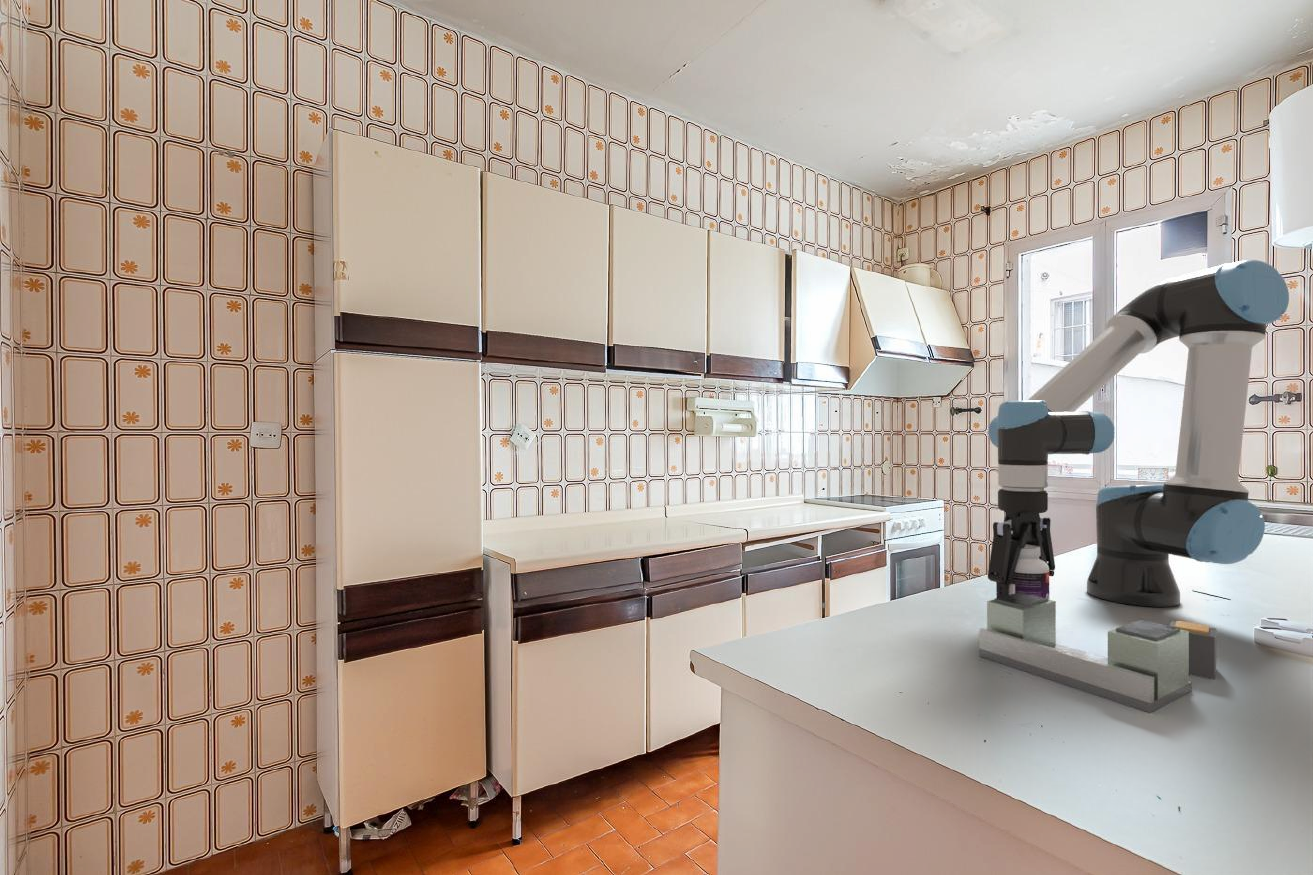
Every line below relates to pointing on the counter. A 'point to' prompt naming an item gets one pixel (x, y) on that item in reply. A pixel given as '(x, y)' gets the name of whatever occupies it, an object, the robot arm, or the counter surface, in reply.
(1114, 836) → the counter surface
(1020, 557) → the pill bottle
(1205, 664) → the block
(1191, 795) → the counter surface
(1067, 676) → the rail plate
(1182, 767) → the counter surface
